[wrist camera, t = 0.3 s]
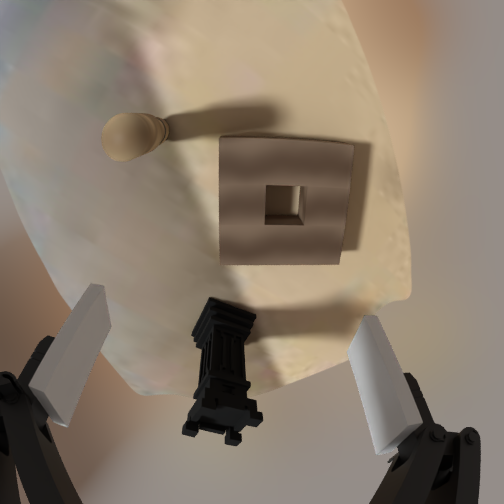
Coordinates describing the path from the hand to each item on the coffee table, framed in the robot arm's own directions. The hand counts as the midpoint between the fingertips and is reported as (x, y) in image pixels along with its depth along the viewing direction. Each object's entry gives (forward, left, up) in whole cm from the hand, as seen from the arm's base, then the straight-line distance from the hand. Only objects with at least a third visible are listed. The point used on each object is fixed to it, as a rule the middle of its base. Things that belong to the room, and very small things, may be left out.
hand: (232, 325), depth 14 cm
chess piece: (+22, -2, -27) cm, 35 cm away
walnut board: (+1, +6, -27) cm, 28 cm away
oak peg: (-8, -10, -27) cm, 30 cm away
